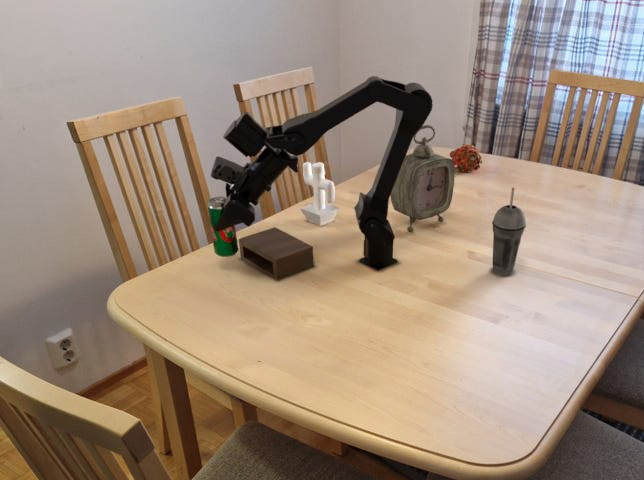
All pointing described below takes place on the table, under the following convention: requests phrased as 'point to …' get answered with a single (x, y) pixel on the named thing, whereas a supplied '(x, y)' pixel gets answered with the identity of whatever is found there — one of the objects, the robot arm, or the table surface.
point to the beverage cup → (507, 237)
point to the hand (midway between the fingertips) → (216, 224)
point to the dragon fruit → (466, 158)
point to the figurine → (319, 195)
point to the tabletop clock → (423, 183)
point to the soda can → (225, 238)
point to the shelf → (276, 253)
